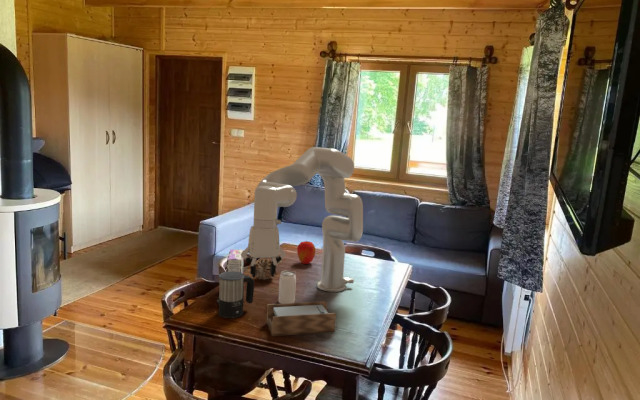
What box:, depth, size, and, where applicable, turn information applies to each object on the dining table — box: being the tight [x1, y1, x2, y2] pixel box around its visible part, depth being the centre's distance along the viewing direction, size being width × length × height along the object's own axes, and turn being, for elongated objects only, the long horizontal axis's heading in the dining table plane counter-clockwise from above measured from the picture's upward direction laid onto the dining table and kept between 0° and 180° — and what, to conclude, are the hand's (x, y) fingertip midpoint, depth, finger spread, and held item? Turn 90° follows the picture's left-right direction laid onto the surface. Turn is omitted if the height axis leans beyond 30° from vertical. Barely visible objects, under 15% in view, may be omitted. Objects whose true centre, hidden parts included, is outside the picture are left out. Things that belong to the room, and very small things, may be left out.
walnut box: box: [266, 300, 337, 337], centre depth 171 cm, size 22×11×7 cm, turn 106°
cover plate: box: [273, 305, 329, 316], centre depth 171 cm, size 18×9×2 cm, turn 106°
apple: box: [297, 240, 317, 265], centre depth 244 cm, size 9×9×12 cm
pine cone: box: [255, 258, 283, 281], centre depth 221 cm, size 22×10×10 cm, turn 161°
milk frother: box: [216, 271, 255, 319], centre depth 182 cm, size 14×16×15 cm
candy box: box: [226, 248, 245, 274], centre depth 199 cm, size 14×6×16 cm, turn 5°
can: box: [278, 270, 297, 304], centre depth 193 cm, size 6×6×12 cm
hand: (262, 275), depth 165 cm, fingers open, 5 cm apart
